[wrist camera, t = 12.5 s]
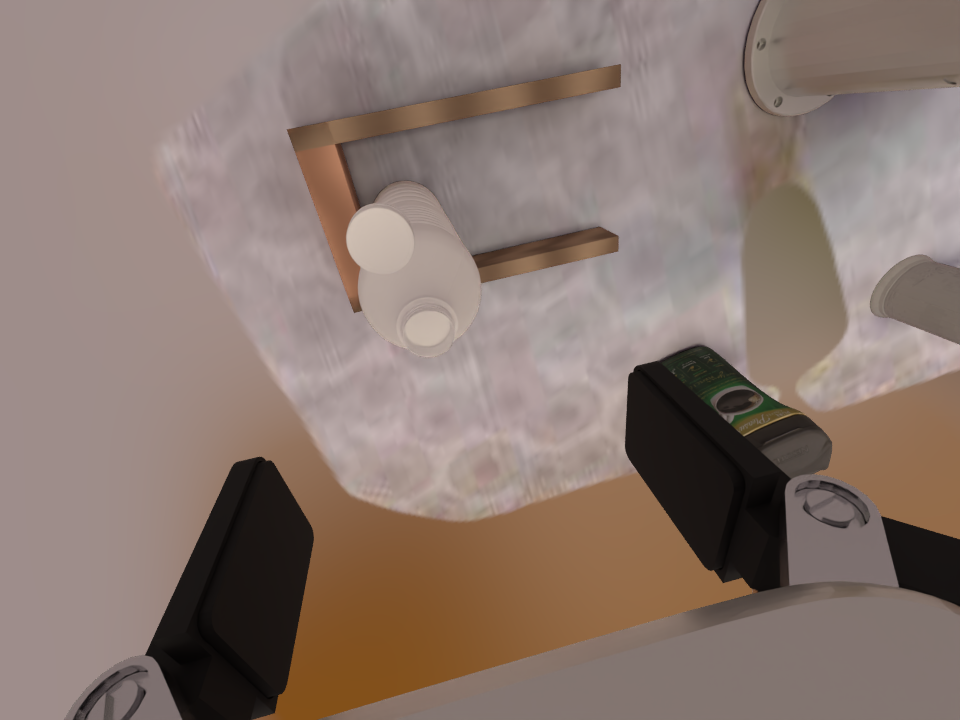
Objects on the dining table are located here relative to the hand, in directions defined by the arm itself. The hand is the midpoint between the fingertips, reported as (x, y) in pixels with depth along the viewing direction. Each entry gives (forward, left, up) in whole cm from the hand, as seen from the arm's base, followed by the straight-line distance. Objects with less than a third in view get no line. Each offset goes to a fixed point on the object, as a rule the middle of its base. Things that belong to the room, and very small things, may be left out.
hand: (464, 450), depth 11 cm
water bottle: (+1, -1, -33) cm, 33 cm away
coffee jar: (-30, +27, -33) cm, 52 cm away
